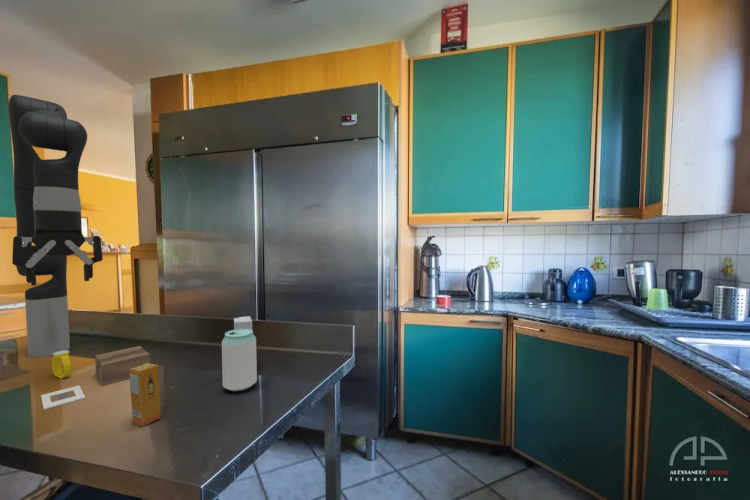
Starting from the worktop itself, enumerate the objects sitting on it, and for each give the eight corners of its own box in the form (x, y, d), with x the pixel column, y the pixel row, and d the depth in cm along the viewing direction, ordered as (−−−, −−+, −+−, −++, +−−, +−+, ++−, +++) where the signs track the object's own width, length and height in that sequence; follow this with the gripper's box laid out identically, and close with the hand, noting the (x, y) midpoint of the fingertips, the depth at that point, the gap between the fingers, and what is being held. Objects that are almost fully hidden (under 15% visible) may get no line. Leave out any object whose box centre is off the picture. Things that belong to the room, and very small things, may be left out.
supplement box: (150, 414, 61) (148, 361, 61) (161, 418, 60) (159, 364, 60) (130, 423, 58) (128, 368, 58) (141, 428, 57) (139, 371, 57)
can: (223, 395, 69) (222, 338, 68) (222, 382, 75) (220, 330, 74) (258, 388, 72) (257, 334, 71) (254, 376, 78) (253, 326, 77)
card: (40, 396, 68) (40, 394, 68) (79, 386, 73) (79, 384, 73) (43, 410, 63) (43, 408, 63) (85, 398, 67) (85, 396, 67)
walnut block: (95, 375, 79) (95, 355, 79) (140, 364, 86) (140, 345, 85) (102, 387, 73) (101, 365, 73) (150, 374, 80) (149, 354, 79)
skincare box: (255, 368, 83) (254, 320, 82) (235, 371, 81) (234, 322, 80) (252, 359, 88) (251, 315, 88) (234, 362, 86) (233, 317, 86)
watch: (48, 376, 78) (46, 352, 78) (63, 372, 80) (62, 348, 80) (60, 381, 75) (59, 356, 75) (75, 376, 78) (74, 352, 78)
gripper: (97, 211, 80) (99, 278, 81) (9, 208, 69) (13, 284, 70) (103, 210, 75) (105, 281, 76) (9, 206, 64) (13, 288, 65)
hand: (61, 282), depth 73 cm, fingers open, 8 cm apart
